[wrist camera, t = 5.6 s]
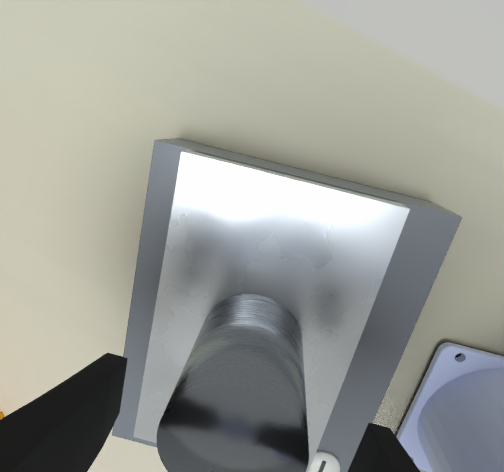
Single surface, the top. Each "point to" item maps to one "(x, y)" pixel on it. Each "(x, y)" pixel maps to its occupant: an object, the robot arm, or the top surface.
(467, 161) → the top surface
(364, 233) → the pan
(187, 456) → the cylinder
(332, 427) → the base
